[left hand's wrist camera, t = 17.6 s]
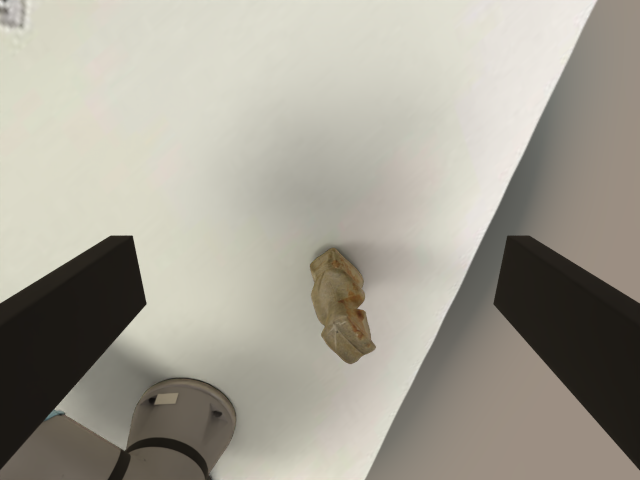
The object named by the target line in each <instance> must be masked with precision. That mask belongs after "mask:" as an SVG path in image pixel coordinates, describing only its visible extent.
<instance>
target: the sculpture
mask: <svg viewBox="0 0 640 480" xmlns="http://www.w3.org/2000/svg"><path fill="white" fill-rule="evenodd" d="M310 269H311V273H312V276H313V279H314V282H315V284H314V287H313V290H312V293H311V298H312V301H313V305H314V308H315V311H316V314H317V317H318V319H319V321H320V322H321V323H322V324H323V325H325V328H324V329H323V331H322V333H321V336H322V337H323V339H324V341H325V342H326V344H327V345H328V346H329V347H330V348H331V349H332V350H333V351H334V352H335V353H336V354H337V355H338V356H339V357H340V358H341V359H342V360H343V361H345V362H346V363H348V364H352V363H355V362H357V361H358V360H359V359H360V357H362V356H363V355H365V354H368V353H370V352H372V351H373V350H375V348H376V346H375V345H374V343H373V342H372V341H371V334H370V329H369V325H368V322H367V317H366V312H365V311H364V310H360V309H357V308H358V307H359V306H360V305H361V304H362V303H363V301H364V299H365V293H364V292H363V290H362V289H361V288H362V286H363V283H364V281H363V278H362V276H361V274H360V272H359V271H358V270H357V269H356V268H355V267H354V266H353V265H352V264H351V263H350V262H349V261H347V260H346V259H345V258H344V257H343V256H342V255H341V254H340V253H339V252H338V250H337V249H335V248H331V249H329V250H328V251H326V253H324V254H323V255H321V256H319V257H318V258H316V259H315V260H314V261H313V262H312V263H311V264H310Z"/></svg>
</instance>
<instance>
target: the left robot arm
mask: <svg viewBox="0 0 640 480" xmlns="http://www.w3.org/2000/svg"><path fill="white" fill-rule="evenodd" d="M145 305H146V299H145V294H144V289H143V284H142V279H141V274H140V269H139V265H138V260H137V255H136V250H135V245H134V240H133V236H109V237H108V238H106V239H104V240H103V241H101V242H100V243H98V244H96V245H95V246H93V247H91V248H90V249H88V250H87V251H85V252H83V253H82V254H80V255H78V256H77V257H75V258H74V259H72V260H70V261H69V262H67V263H65V264H64V265H62V266H61V267H59V268H57V269H56V270H54V271H52V272H51V273H49V274H48V275H46V276H44V277H43V278H41V279H39V280H38V281H36V282H34V283H33V284H31V285H30V286H28V287H26V288H25V289H23V290H21V291H20V292H18V293H17V294H15V295H13V296H12V297H10V298H8V299H7V300H5V301H4V302H2V303H0V480H211V478H210V477H209V473H210V471H211V470H212V468H213V467H214V465H215V464H216V462H217V461H218V459H219V458H220V456H221V455H222V454H223V452H224V451H225V449H226V448H227V446H228V444H229V443H230V441H231V439H232V436H233V432H234V429H235V424H236V415H235V411H234V408H233V406H232V405H231V403H230V401H229V400H228V399H227V398H226V397H225V396H224V395H223V394H222V393H221V392H220V391H218V390H217V389H215V388H214V387H212V386H210V385H208V384H206V383H203V382H200V381H196V380H192V379H170V380H165V381H162V382H159V383H157V384H155V385H153V386H152V387H150V388H149V389H148V390H147V391H146V392H145V393H144V394H143V396H142V397H141V399H140V401H139V402H138V404H137V406H136V408H135V411H134V414H133V418H132V422H131V427H130V432H129V437H128V442H127V447H126V450H125V451H124V450H122V449H120V448H119V447H117V446H115V445H114V444H112V443H110V442H109V441H107V440H106V439H104V438H102V437H101V436H99V435H97V434H96V433H94V432H92V431H91V430H89V429H87V428H86V427H84V426H82V425H81V424H79V423H77V422H76V421H74V420H72V419H71V418H69V417H68V416H66V415H65V413H64V412H63V411H56V410H54V409H55V407H56V406H57V405H58V404H59V403H60V402H61V401H62V400H63V398H64V397H65V396H66V395H67V394H68V393H69V392H70V390H71V389H72V388H73V387H74V386H75V385H76V384H77V382H78V381H79V380H80V379H81V378H82V377H83V376H84V375H85V373H86V372H87V371H88V370H89V369H90V368H91V367H92V365H93V364H94V363H95V362H96V361H97V360H98V359H99V358H100V356H101V355H102V354H103V353H104V352H105V351H106V350H107V348H108V347H109V346H110V345H111V344H112V343H113V342H114V340H115V339H116V338H117V337H118V336H119V335H120V334H121V333H122V331H123V330H124V329H125V328H126V327H127V326H128V325H129V323H130V322H131V321H132V320H133V319H134V318H135V317H136V315H137V314H138V313H139V312H140V311H141V310H142V309H143V308H144V306H145ZM494 305H495V306H496V308H497V309H498V310H499V311H500V312H501V313H502V314H503V315H504V317H505V318H506V319H507V320H508V321H509V322H510V323H511V325H512V326H513V327H514V328H515V329H516V330H517V331H518V332H519V334H520V335H521V336H522V337H523V338H524V339H525V340H526V342H527V343H528V344H529V345H530V346H531V347H532V348H533V350H534V351H535V352H536V353H537V354H538V355H539V356H540V358H541V359H542V360H543V361H544V362H545V363H546V364H547V365H548V367H549V368H550V369H551V370H552V371H553V372H554V373H555V375H556V376H557V377H558V378H559V379H560V380H561V381H562V382H563V384H564V385H565V386H566V387H567V388H568V389H569V390H570V391H571V393H572V394H573V395H574V396H575V397H576V398H577V400H578V401H579V402H580V403H581V404H582V405H583V406H584V407H585V409H586V410H587V411H588V412H589V413H590V414H591V415H592V416H593V418H594V419H595V420H596V421H597V422H598V423H599V425H600V426H601V427H602V428H603V429H604V430H605V431H606V432H607V434H608V435H609V436H610V437H611V438H612V439H613V440H614V442H615V443H616V444H617V445H618V446H619V447H620V448H621V449H622V451H623V452H624V453H625V454H626V455H627V456H628V457H629V459H630V460H631V461H632V462H633V463H634V464H635V465H636V467H637V468H638V469H639V470H640V303H638V302H636V301H635V300H633V299H631V298H630V297H628V296H627V295H625V294H623V293H622V292H620V291H619V290H617V289H615V288H614V287H612V286H610V285H609V284H607V283H605V282H604V281H602V280H601V279H599V278H597V277H596V276H594V275H592V274H591V273H589V272H588V271H586V270H584V269H583V268H581V267H579V266H578V265H576V264H575V263H573V262H571V261H570V260H568V259H566V258H565V257H563V256H562V255H560V254H558V253H557V252H555V251H553V250H552V249H550V248H549V247H547V246H545V245H544V244H542V243H540V242H539V241H537V240H536V239H534V238H532V237H531V236H507V240H506V245H505V250H504V255H503V260H502V265H501V269H500V274H499V279H498V284H497V289H496V294H495V299H494Z"/></svg>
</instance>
